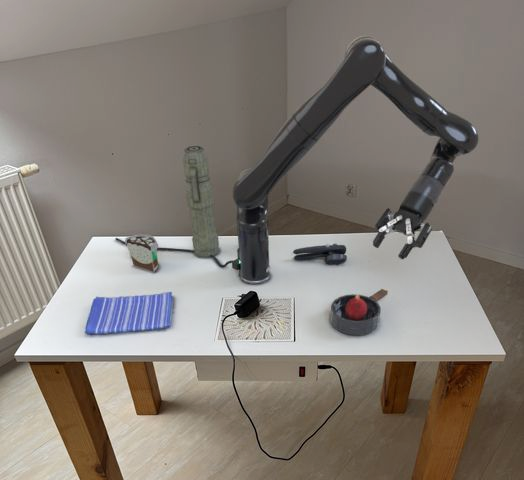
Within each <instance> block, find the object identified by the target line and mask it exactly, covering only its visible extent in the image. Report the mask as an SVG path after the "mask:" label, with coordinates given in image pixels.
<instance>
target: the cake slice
mask: <svg viewBox="0 0 524 480" xmlns="http://www.w3.org/2000/svg"><path fill="white" fill-rule="evenodd" d="M124 242H125V244H124V245H126V244H127V245H126V246H127V250H128V253H129V255H130V259H131V262H132V265H133V267H134V268H138V269H141V270H144V271H148V272H150V273H152V274H153V273H154V274H155V273H156V272H157V271H158V270H159V259H158V250H157V248H159V243H158V241H157V240H156V238H155V237H154V236H153V235H150V234H143V233H142V234H134V235H130V236H128V237H125V239H124Z"/></svg>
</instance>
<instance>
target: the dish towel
mask: <svg viewBox="0 0 524 480" xmlns="http://www.w3.org/2000/svg"><path fill="white" fill-rule="evenodd" d="M172 294H173V292H172V291H167V292H162V293H155V294H142V295H130V296H129V295H128V296H118V297H117V296H114V297H107V296H95V297H94V298H93V300H92V303H91V307H90V311H89V314H88V317H87V320H86V323H85V326H84V327H85V330H84V333H85V334H86V335H103V334H105V335H107V334H117V333H127V332H139V331H141V332H142V331H143V332H144V331H150V330H151V331H152V330H153V331H154V330H159V329H167V328H170V327H171V323H172V316H173V307H174V305H173V304H174V303H173V302H174V297H173V295H172Z"/></svg>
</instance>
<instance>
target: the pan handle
mask: <svg viewBox="0 0 524 480" xmlns="http://www.w3.org/2000/svg"><path fill="white" fill-rule="evenodd" d="M388 293H389V291H388V290H386V289H384V288H381V289H380V290H378V291H376V292H374V293H373V294H371V295H370V296H368V297H369V298H372V299H374V300H375V301H376V302H377V303H378V302H379V301H381V300H382V299H383V298H385V297H386V296H387V295H388Z"/></svg>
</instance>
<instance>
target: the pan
mask: <svg viewBox="0 0 524 480" xmlns="http://www.w3.org/2000/svg"><path fill="white" fill-rule="evenodd" d="M357 295H359V296H360V298H361V299H362V300H364V302H365V303H366V305H367V313H366V315H365V316H364V317H363V318H362V319H360V320H357V321H354V320H351V319H350V318H349V317H348V316H347V314H346V312H345V308H346V304H347V303H348V302H349V301H350V300H351V299H353V298H355V297H356V296H357ZM369 297H370V296H367V295H363V294H345V295H342V296H338V297H337V298H335V299H334V300H333V301H332V302H331V305H330V317H329V322H330V324H331V326H332V327H333V328H334V329H335V330H336V331H338V332H339V333H342V334H345V335H348V336H349V335H350V336H364V335H368V334H370V333H371V334H372V332H374V331H376V330H377V329H378V327H379V325H380V320H381V314H382V313H381V312H382V310H381V305H380V304H379V302H378V301H377V302H376V301H375V300H374V299H372V298H369Z"/></svg>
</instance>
